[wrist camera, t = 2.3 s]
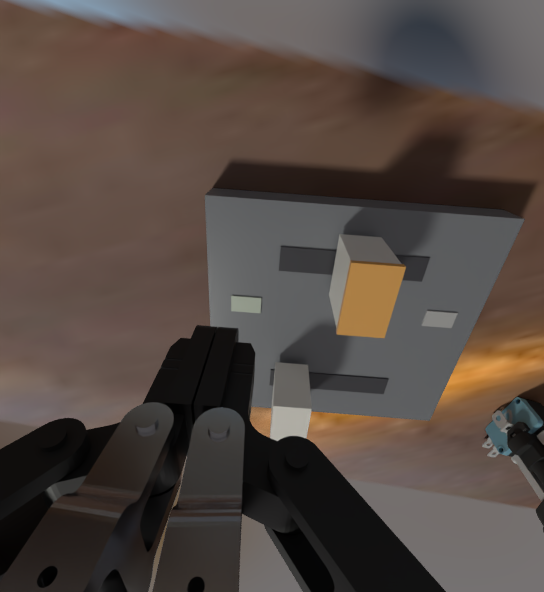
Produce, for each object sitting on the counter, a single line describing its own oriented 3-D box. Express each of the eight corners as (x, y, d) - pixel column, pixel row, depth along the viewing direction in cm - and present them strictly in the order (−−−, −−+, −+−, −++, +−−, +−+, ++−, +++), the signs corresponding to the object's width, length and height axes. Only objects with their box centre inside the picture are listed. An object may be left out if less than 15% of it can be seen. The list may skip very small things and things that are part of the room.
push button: (505, 447, 31) (591, 579, 22) (456, 435, 30) (525, 565, 21) (555, 402, 27) (680, 536, 19) (501, 387, 27) (604, 519, 18)
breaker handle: (382, 236, 18) (406, 266, 14) (367, 298, 20) (384, 338, 16) (338, 233, 18) (351, 262, 14) (328, 295, 20) (336, 334, 16)
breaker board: (503, 209, 19) (591, 249, 14) (420, 401, 28) (454, 474, 22) (212, 187, 20) (181, 218, 14) (218, 385, 28) (201, 453, 22)
